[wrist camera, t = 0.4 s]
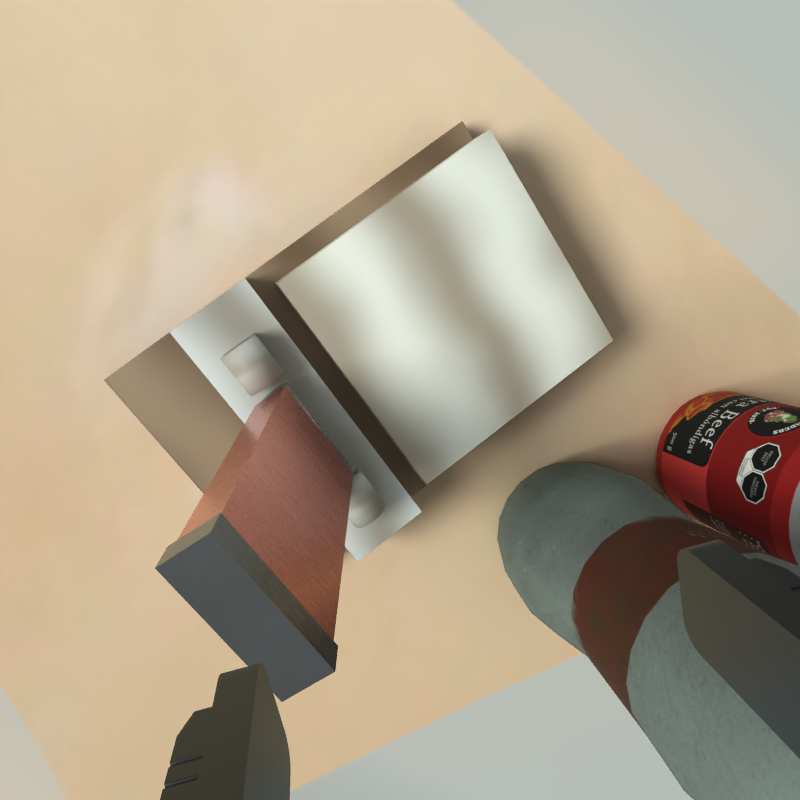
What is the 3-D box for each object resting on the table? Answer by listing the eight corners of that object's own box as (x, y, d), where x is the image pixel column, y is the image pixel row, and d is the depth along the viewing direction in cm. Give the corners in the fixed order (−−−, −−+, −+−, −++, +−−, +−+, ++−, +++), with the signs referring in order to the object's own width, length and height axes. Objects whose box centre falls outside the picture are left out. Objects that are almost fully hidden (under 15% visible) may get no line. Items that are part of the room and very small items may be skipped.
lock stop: (326, 480, 30) (282, 702, 18) (257, 394, 29) (154, 568, 16) (357, 461, 30) (335, 671, 17) (289, 373, 29) (210, 532, 16)
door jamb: (287, 578, 35) (295, 635, 30) (110, 375, 31) (80, 396, 26) (585, 348, 37) (646, 361, 31) (452, 127, 33) (495, 96, 27)
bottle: (518, 624, 39) (1268, 1574, 10) (462, 496, 37) (1237, 1273, 8) (648, 552, 40) (1640, 1224, 12) (603, 423, 38) (1708, 874, 9)
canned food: (745, 370, 40) (926, 403, 29) (769, 485, 42) (946, 555, 31) (638, 416, 38) (785, 468, 28) (667, 532, 40) (816, 621, 30)
